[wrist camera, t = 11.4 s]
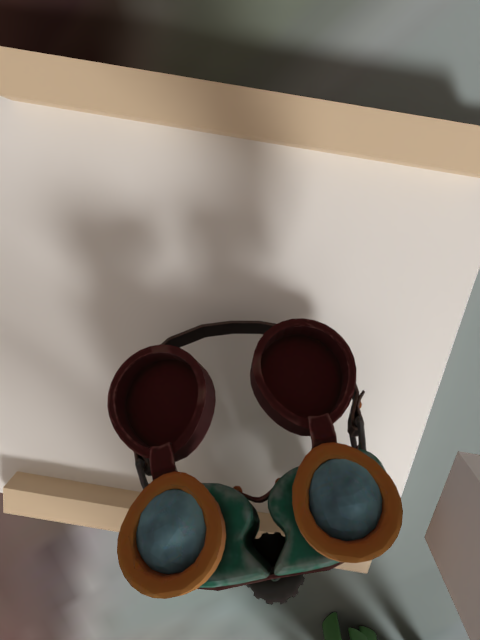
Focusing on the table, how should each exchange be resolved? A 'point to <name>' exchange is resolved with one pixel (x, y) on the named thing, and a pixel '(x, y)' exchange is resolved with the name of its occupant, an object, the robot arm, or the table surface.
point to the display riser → (214, 267)
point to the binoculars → (231, 503)
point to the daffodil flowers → (332, 634)
